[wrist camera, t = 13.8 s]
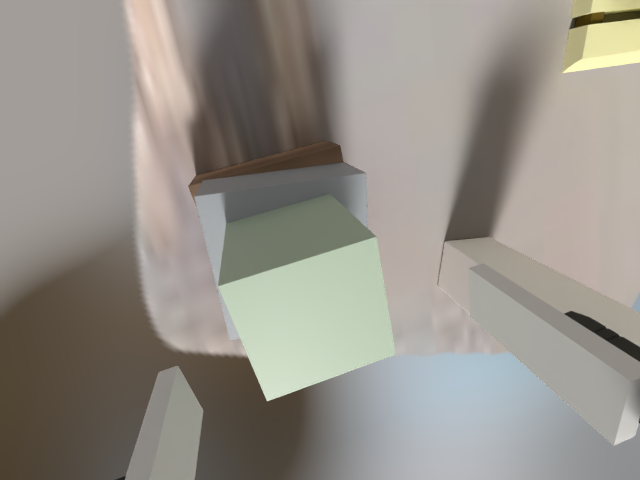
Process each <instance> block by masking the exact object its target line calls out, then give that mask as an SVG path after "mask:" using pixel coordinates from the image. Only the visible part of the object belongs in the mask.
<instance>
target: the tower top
mask: <svg viewBox="0 0 640 480" xmlns="http://www.w3.org/2000/svg"><path fill="white" fill-rule="evenodd" d="M326 194H331V195H332V196H333V197H334V198H335V199H336V200H337V201H339V202H340V203H341V204H342V205H343V206H344V207H345V208H346V209H347V210H348V211H349V212H350V213H351V214H353V215H354V216H355V217H356V218H357V219H358V220H359V221H360V222H361V223H362V224H363V225H364V226H365V227H366V228H368V222H367V189H366V173H365V172H363V171H361V170H359V169H357V168H355V167H353V166H351V165H349V164H347V163H345V162H342V163H334V164H327V165H319V166H311V167H303V168H296V169H288V170H280V171H272V172H265V173H257V174H249V175H241V176H234V177H226V178H218V179H210V180H203V182H202V183H201V185H200V187H199V189H198V191H197V192H196V194H195V196H194V198H195V202H196V206H197V210H198V214H199V218H200V222H201V226H202V230H203V234H204V238H205V242H206V246H207V250H208V254H209V258H210V262H211V266H212V270H213V274H214V278H215V282H216V286H217V290H218V294H219V298H220V302H221V306H222V310H223V314H224V318H225V322H226V326H227V330H228V334H229V338H230V340H235V339H239V338H240V337H239V334H238V332H237V330H236V327H235V325H234V323H233V320H232V318H231V316H230V313H229V311H228V309H227V306H226V304H225V302H224V299H223V297H222V295H221V292H220V290H219V288H218V282H219V274H220V267H221V259H222V251H223V244H224V236H225V228H226V224H227V223H230V222H233V221H237V220H240V219H244V218H247V217H251V216H254V215H258V214H261V213H264V212H268V211H271V210H275V209H278V208H282V207H285V206H289V205H292V204H295V203H299V202H302V201H306V200H309V199H313V198H316V197H320V196H323V195H326Z"/></svg>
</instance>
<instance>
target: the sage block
mask: <svg viewBox="0 0 640 480" xmlns="http://www.w3.org/2000/svg"><path fill="white" fill-rule="evenodd" d="M218 288H219V290H220V292H221V295H222V297H223V299H224V302H225V304H226V306H227V309H228V311H229V313H230V316H231V318H232V320H233V323H234V325H235V327H236V330H237V332H238V334H239V337H240V339H241V341H242V344H243V346H244V348H245V351H246V353H247V355H248V358H249V360H250V362H251V364H252V367H253V369H254V371H255V374H256V376H257V378H258V381H259V383H260V385H261V388H262V390H263V392H264V395H265V397H266V399H267V401H269V400H272V399H274V398H277V397H280V396H283V395H285V394H288V393H291V392H294V391H296V390H299V389H302V388H305V387H307V386H310V385H313V384H316V383H318V382H321V381H324V380H327V379H330V378H332V377H335V376H338V375H341V374H343V373H346V372H349V371H352V370H354V369H357V368H360V367H363V366H365V365H368V364H371V363H374V362H376V361H379V360H382V359H385V358H387V357H390V356H393V355H396V353H395V346H394V340H393V334H392V328H391V322H390V316H389V310H388V304H387V298H386V292H385V286H384V280H383V274H382V268H381V261H380V255H379V249H378V243H377V237H376V236H375V235H374V234H373V233H372V232H371V231H370V230H369V229H368V228H366V227H365V226H364V225H363V224H362V223H361V222H360V221H359V220H358V219H357V218H356V217H355V216H354V215H353V214H351V213H350V212H349V211H348V210H347V209H346V208H345V207H344V206H343V205H342V204H341V203H340V202H339V201H337V200H336V199H335V198H334V197H333V196H332V195H331V194H326V195H323V196H320V197H316V198H313V199H309V200H306V201H302V202H299V203H295V204H292V205H289V206H285V207H282V208H278V209H275V210H271V211H268V212H264V213H261V214H258V215H254V216H251V217H247V218H244V219H240V220H237V221H233V222H230V223H227V224H226V228H225V236H224V244H223V251H222V259H221V267H220V274H219V282H218Z"/></svg>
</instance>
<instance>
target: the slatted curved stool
mask: <svg viewBox="0 0 640 480" xmlns="http://www.w3.org/2000/svg"><path fill="white" fill-rule="evenodd" d="M632 11H640V0H574V2H573V8H572V14H571V18H576V17H577V19H576V25H575V28H573V29H569V33H568V39H567V45H566V52H565V58H564V64H563V70H562V73H566V72H573V71H581V70H588V69H595V68H602V67H609V66H616V65H624V64H631V63H638V62H640V19H633V20H625V21H617V22H608V23H603V19H604V14H613V13H623V12H632Z"/></svg>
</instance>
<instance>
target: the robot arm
mask: <svg viewBox="0 0 640 480" xmlns="http://www.w3.org/2000/svg"><path fill="white" fill-rule="evenodd" d="M469 304H470V317H472V318H473V319H474V320H475V321H476V322H477V323H478V324H479V325H480V326H482V327H483V328H484V329H485V330H486V331H487V332H488V333H489V334H490V335H492V336H493V337H494V338H495V339H496V340H497V341H498V342H499V343H500V344H502V345H503V346H504V347H505V348H506V349H507V350H508V351H509V352H510V353H512V354H513V355H514V356H515V357H516V358H517V359H518V360H519V361H520V362H522V363H523V364H524V365H525V366H526V367H527V368H528V369H529V370H530V371H531V372H533V373H534V374H535V375H536V376H537V377H539V379H540V380H542V381H543V382H544V383H545V384H546V385H547V386H548V387H549V388H550V389H552V390H553V391H554V392H555V393H556V394H557V395H558V396H559V397H560V398H562V399H563V400H564V401H565V402H566V403H567V404H568V405H569V406H570V407H572V408H573V409H574V410H575V411H576V412H577V413H578V414H579V415H581V417H583V418H584V419H585V420H586V421H587V422H588V423H589V424H590V425H591V426H593V427H594V428H595V429H596V430H597V431H598V432H599V433H600V434H601V435H603V436H604V437H605V438H606V439H607V440H608V441H609V442H610V443H612V444H613V445H616V444H619V443H621V442H623V441H625V440H628V439H630V438H632V437H635V435H636V432H637V428H638V425H639V423H640V347H639V346H638V345H636V344H634V343H633V342H631V341H629V340H628V339H626V338H624V337H620V336H619V334H617V333H616V332H614V331H612V330H611V329H607V328H606V326H604V325H602V324H601V323H599V322H597V321H596V320H594V319H592V318H590V317H588V316H585V315H582V314H579V313H576V312H574V311H569V312H567V313H564V314H563V313H562V312H560V311H558V310H557V309H555V308H554V307H552V306H551V305H549V304H547V303H546V302H544V301H543V300H541V299H539V298H538V297H536V296H535V295H533V294H532V293H530V292H528V291H527V290H525V289H524V288H522V287H520V286H519V285H517V284H516V283H514V282H513V281H511V280H509V279H508V278H506V277H505V276H503V275H501V274H500V273H498V272H497V271H495V270H494V269H492V268H490V267H489V266H487V265H486V264H484V263H483V264H480V265H477V266H474V267H471V268H469ZM202 416H203V409H202V408H201V406H200V404H199V403H198V401H197V399H196V397H195V395H194V394H193V392H192V390H191V388H190V386H189V385H188V383H187V381H186V379H185V378H184V376H183V374H182V372H181V370H180V369H179V367H178V366H176V367H173V368H170V369H167V370H164V371H161V372H159V373H158V376H157V379H156V383H155V386H154V389H153V392H152V395H151V398H150V401H149V405H148V408H147V411H146V414H145V418H144V421H143V424H142V427H141V430H140V433H139V436H138V440H137V443H136V446H135V449H134V452H133V455H132V458H131V462H130V465H129V468H128V471H127V474H126V476H125V477H122V478H119V479H117V480H194V478H195V471H196V462H197V454H198V448H199V440H200V432H201V424H202Z"/></svg>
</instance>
